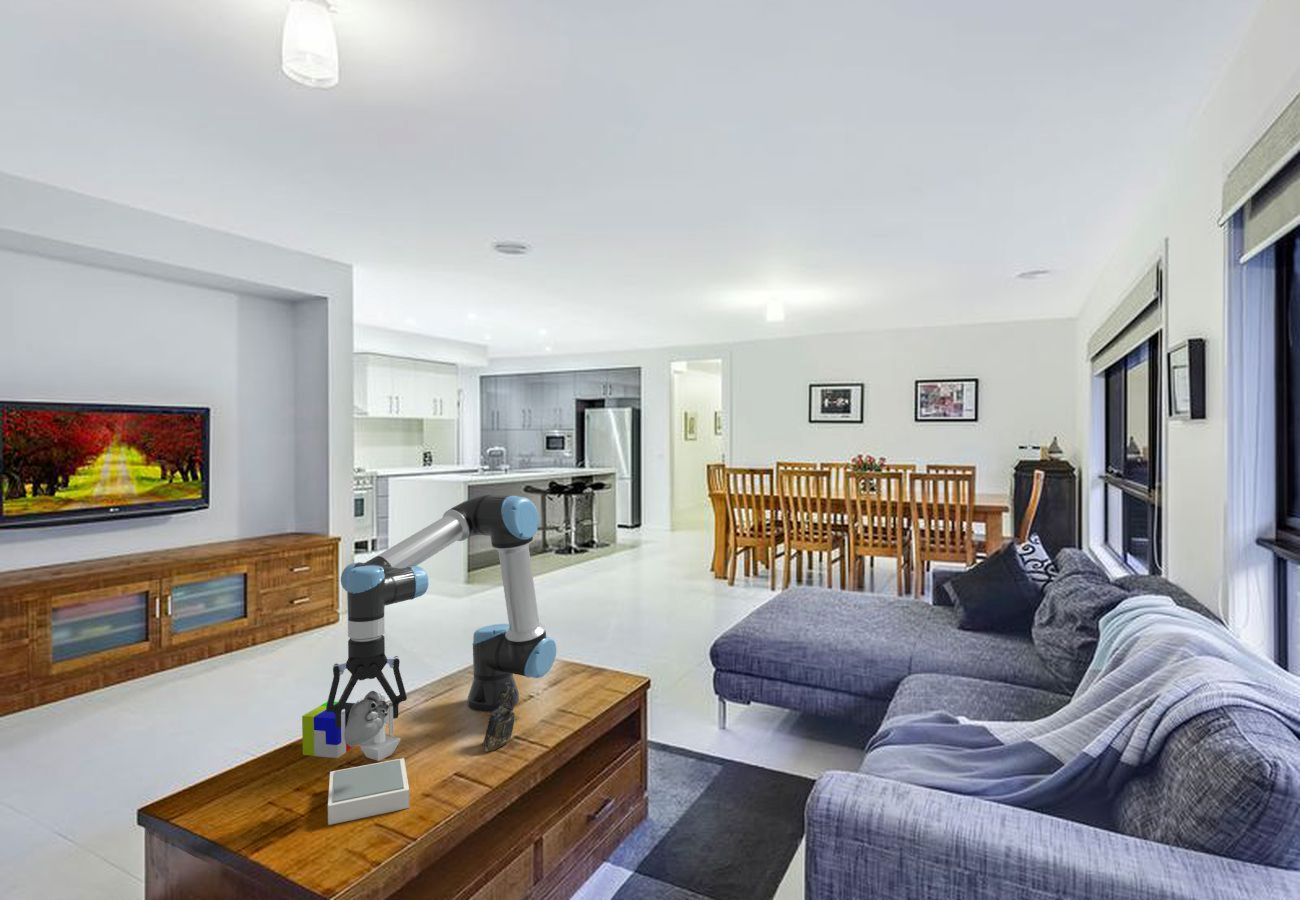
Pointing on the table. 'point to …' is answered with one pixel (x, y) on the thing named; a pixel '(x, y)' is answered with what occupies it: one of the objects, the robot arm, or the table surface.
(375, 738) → the figurine
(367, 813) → the plinth
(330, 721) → the puzzle toy
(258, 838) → the table surface
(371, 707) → the heart
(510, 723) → the statue
